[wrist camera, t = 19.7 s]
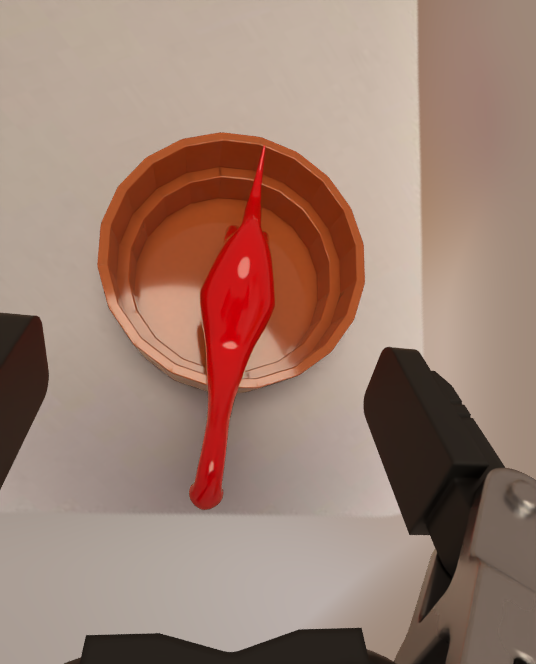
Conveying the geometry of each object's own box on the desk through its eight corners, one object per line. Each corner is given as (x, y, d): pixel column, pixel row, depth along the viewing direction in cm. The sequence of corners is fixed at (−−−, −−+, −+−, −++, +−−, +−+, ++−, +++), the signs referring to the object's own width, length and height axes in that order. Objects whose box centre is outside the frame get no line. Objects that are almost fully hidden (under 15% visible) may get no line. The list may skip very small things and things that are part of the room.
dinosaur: (298, 153, 24) (347, 120, 13) (248, 390, 29) (250, 527, 17) (229, 138, 24) (215, 88, 12) (189, 380, 28) (151, 514, 17)
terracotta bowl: (249, 438, 27) (265, 445, 21) (69, 300, 27) (35, 270, 21) (367, 273, 30) (409, 240, 25) (210, 149, 30) (214, 86, 24)
